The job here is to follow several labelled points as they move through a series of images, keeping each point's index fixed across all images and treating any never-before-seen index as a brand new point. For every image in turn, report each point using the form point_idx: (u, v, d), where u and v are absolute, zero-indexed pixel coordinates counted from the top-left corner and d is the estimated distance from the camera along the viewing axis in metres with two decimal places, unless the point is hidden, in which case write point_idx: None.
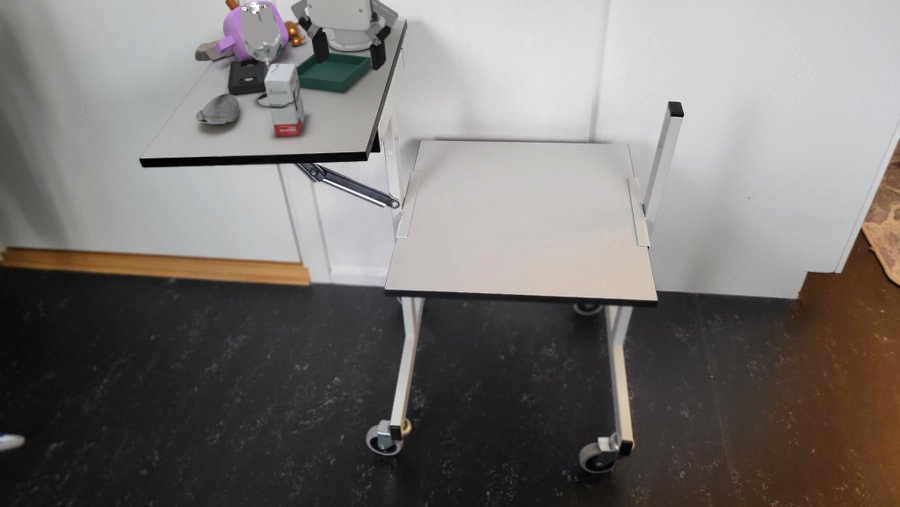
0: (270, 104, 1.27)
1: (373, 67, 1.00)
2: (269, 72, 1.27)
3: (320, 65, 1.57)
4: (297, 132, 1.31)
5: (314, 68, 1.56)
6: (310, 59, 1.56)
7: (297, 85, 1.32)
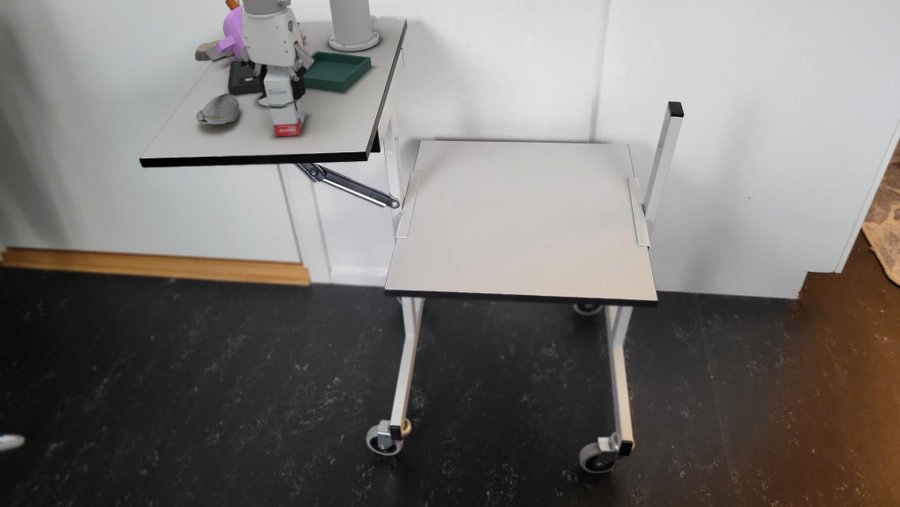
0: (270, 104, 1.27)
1: (295, 97, 1.28)
2: (268, 72, 1.27)
3: (320, 65, 1.57)
4: (297, 132, 1.31)
5: (314, 68, 1.56)
6: None
7: None
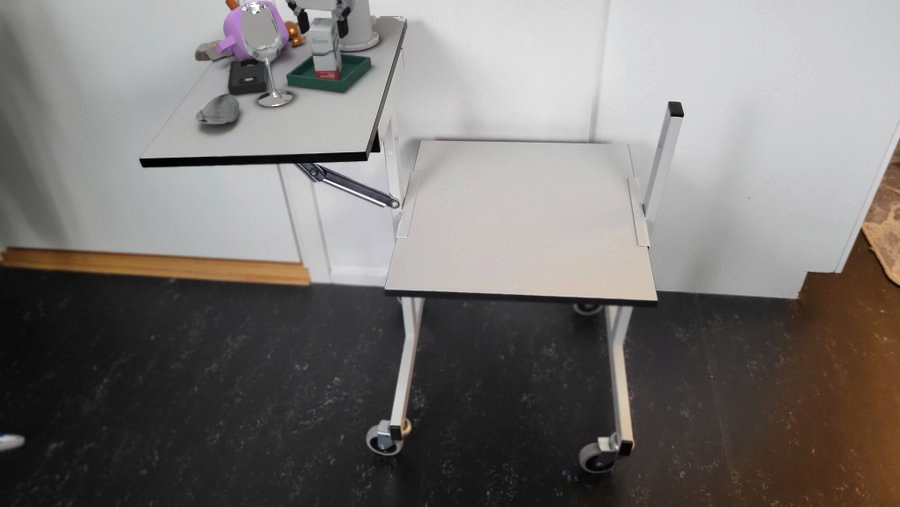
0: (313, 52, 1.45)
1: (339, 36, 1.45)
2: (313, 24, 1.45)
3: None
4: (335, 78, 1.49)
5: (314, 68, 1.56)
6: (310, 59, 1.56)
7: (336, 37, 1.50)
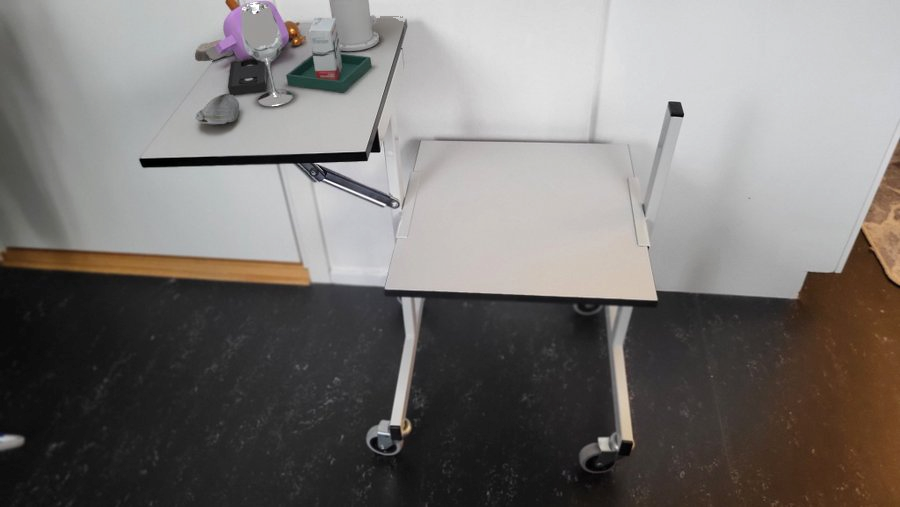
0: (313, 52, 1.45)
1: None
2: (313, 24, 1.45)
3: None
4: (335, 78, 1.49)
5: (314, 68, 1.56)
6: (310, 59, 1.56)
7: (336, 37, 1.50)
